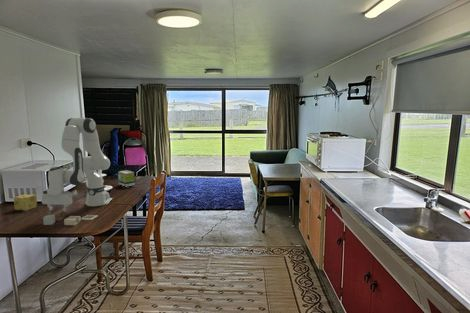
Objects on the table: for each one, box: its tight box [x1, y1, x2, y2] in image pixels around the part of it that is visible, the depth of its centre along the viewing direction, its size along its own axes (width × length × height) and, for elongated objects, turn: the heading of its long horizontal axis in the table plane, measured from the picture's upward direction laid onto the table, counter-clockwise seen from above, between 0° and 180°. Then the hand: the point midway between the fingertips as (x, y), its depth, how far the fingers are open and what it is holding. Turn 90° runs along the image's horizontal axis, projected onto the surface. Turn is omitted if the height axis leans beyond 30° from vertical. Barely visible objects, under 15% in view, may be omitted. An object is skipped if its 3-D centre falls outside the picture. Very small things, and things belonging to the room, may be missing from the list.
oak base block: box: [63, 215, 82, 226], centre depth 195 cm, size 7×7×4 cm
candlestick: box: [85, 170, 113, 192], centre depth 275 cm, size 21×25×28 cm
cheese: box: [13, 194, 38, 212], centre depth 224 cm, size 10×11×10 cm
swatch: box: [81, 214, 99, 221], centre depth 206 cm, size 8×8×1 cm
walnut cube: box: [52, 210, 66, 221], centre depth 202 cm, size 5×5×5 cm
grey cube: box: [42, 214, 56, 226], centre depth 194 cm, size 5×5×5 cm
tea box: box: [117, 169, 136, 188], centre depth 298 cm, size 15×10×15 cm, turn 49°
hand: (57, 210), depth 201 cm, fingers open, 8 cm apart
